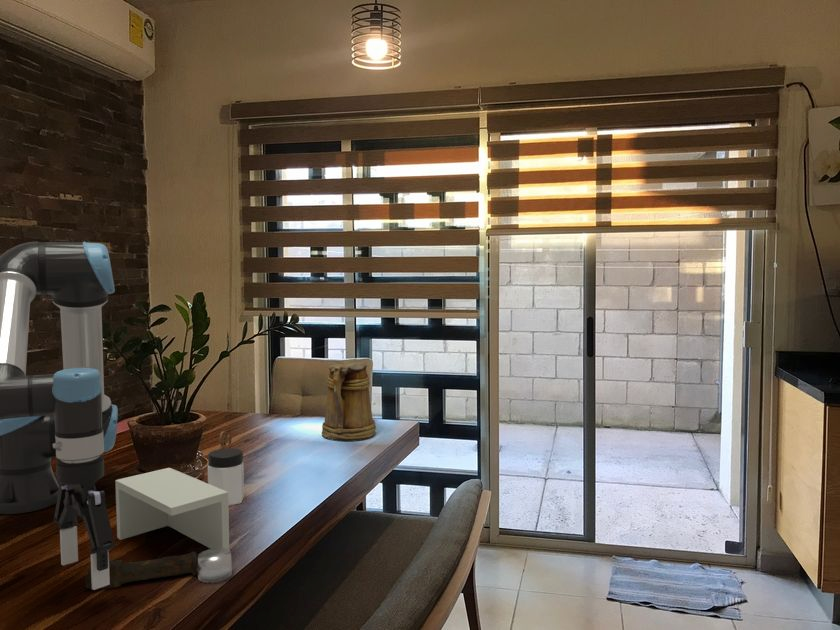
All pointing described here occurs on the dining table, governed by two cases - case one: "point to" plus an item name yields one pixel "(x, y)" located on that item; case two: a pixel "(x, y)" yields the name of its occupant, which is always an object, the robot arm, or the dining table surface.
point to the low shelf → (172, 507)
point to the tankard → (348, 402)
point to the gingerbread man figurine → (225, 441)
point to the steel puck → (214, 565)
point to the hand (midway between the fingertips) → (84, 574)
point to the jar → (227, 473)
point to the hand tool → (147, 569)
